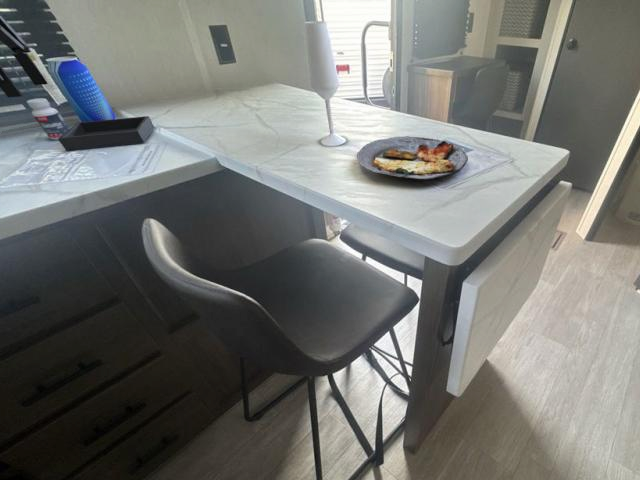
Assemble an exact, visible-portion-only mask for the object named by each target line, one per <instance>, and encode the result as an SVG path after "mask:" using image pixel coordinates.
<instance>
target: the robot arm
mask: <svg viewBox="0 0 640 480" xmlns="http://www.w3.org/2000/svg"><path fill="white" fill-rule="evenodd" d="M0 42H1V43H2V44H4V45H5V46H6V47H7V48H9V50H11V52H13V53H12V56H13V57H14V58H15V60H16V61H17V63H18V64H19V65H20V67H21V68H22V70H23V71H24V72H25V74H26V75H27V76H28V78H29V79H30V81H31V82H32V84H33V85H34V86H43V85H48V84H49V83H48V81H47V80H46V79H45V77H44V76H43V74H42V72H41V71H40V70H39V68H38V67H37V66H36V64H35V62H34V60H32V58H31V56H29V54H28V53H31V52H32V50H31V49H30V47H29V46H28V44H27V42H25V40H24V39H22V37H21V36H20V35H19V34H18V32H16V31H15V29H14V28H13V27H12V26H11V25H10V24H9V23H8V22H7V21H6V20H5V18H4V17H3V16H2V15H1V14H0ZM0 89H1V91H2V92H3V93H4V95H5V96H6V97H7V98H17V97H18V98H19V97H21V98H22V97H24V95H23V93H22V92H21V90H20V89H19V88H18V86H17V85H16V84H15V82H14V81H13V80H12V79H11V77H10V76H9V74H8V73H7V71H5V69H4V68H3V67H2V65H1V64H0Z"/></svg>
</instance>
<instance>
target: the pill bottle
mask: <svg viewBox="0 0 640 480" xmlns="http://www.w3.org/2000/svg"><path fill="white" fill-rule="evenodd" d="M26 103H27V105H28V106H29V107H30V109H32V111H31V115H32V116H33V118H34V119H35V120H36V122H37V123H38V125H39V126H40V128H42V130H43V131H44V132H45V134H46V135H47V137H48V138H49V139H50V140H54V141H59V140H58V138H59V137H60V136H62V135H63V134H64V133H65V132H67V131H68V130H69V129H70V128H71V127H69V125H68V123H66V121H65V120H64V118H63V116H62V115H61V114H60V112H59V111H58V110H57V109H56V108H55V107H51V104H50V101H48V99H47V98H45V97H41V98H40V97H39V98H33V99H32V98H31V99H28V100H26Z"/></svg>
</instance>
